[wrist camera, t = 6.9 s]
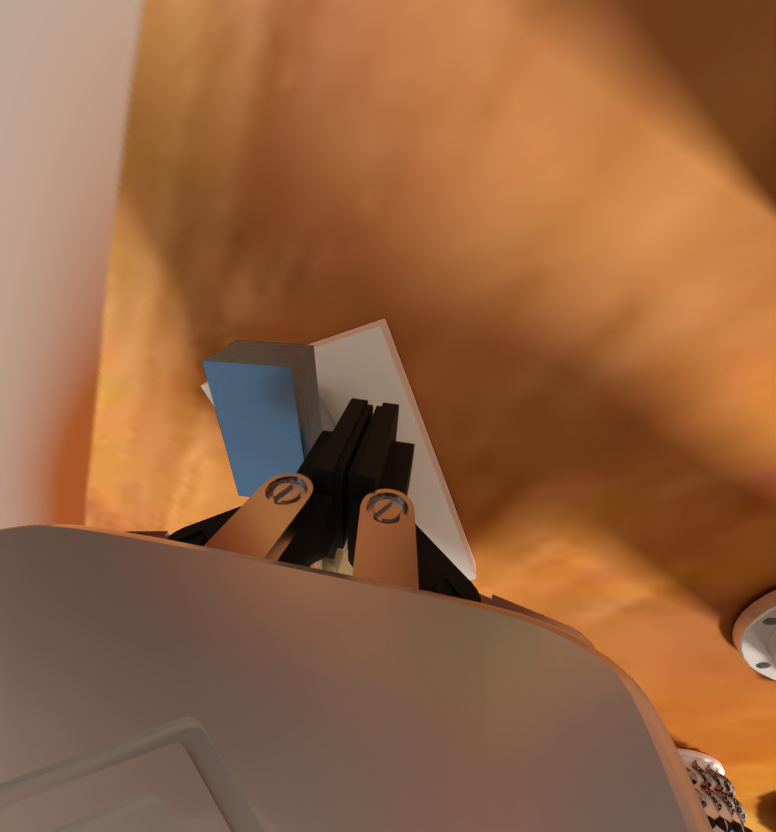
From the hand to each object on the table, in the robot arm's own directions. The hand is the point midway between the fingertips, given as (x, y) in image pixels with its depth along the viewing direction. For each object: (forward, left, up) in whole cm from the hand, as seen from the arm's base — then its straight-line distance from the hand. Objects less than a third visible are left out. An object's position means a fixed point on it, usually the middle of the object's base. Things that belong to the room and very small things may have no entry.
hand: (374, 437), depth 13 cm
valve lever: (-3, +4, 0) cm, 5 cm away
